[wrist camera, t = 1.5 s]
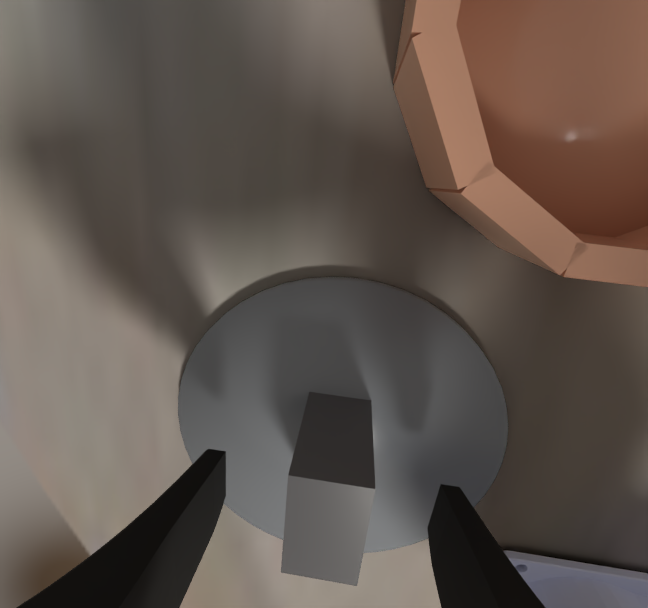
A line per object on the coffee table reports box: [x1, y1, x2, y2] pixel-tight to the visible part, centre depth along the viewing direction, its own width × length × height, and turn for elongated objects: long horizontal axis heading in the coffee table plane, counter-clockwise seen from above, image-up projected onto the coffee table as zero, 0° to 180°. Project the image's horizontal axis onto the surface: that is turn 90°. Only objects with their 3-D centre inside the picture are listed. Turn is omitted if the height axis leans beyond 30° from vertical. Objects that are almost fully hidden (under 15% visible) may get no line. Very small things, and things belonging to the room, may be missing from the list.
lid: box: [178, 277, 508, 586], centre depth 12 cm, size 13×13×5 cm
